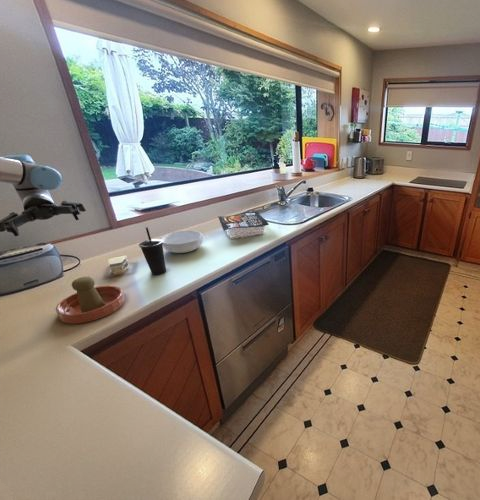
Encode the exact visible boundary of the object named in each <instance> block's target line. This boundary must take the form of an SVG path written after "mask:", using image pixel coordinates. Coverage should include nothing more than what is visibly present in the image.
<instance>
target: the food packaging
mask: <svg viewBox="0 0 480 500" xmlns="http://www.w3.org/2000/svg"><path fill="white" fill-rule="evenodd" d="M217 218H218V221H219V222H220V223H219V224H220V225H221V228H222V230H223V231H224V232H226V234H227V237H229V238H230V240H233V239H234V240H235V239H240V238H247V237H248V238H249V237H255V236H260V235H264V234H265V227H266V226H269V225H270V224H269V222H268V221H267V219H265V218H264V217H263V216H261V214H260V213H259V211H245V212H240V213H236V214H232V215H224V216H219V215H218V216H217Z"/></svg>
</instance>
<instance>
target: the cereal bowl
mask: <svg viewBox="0 0 480 500" xmlns="http://www.w3.org/2000/svg"><path fill="white" fill-rule="evenodd" d="M203 239H204V238H203V234H202V233H201V232H200V231H197V230H179V231H174V232H170V233H167V234H165V235H163V236H162V237H161V239H160V240H162V241H163V243H162V246H163V249H165V250H166V251H168V252H170V253H175V254H185V253H189V252H192V251H195V250H197V249H198V248H200V246H202V244H203V241H204V240H203Z"/></svg>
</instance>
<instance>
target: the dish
mask: <svg viewBox="0 0 480 500" xmlns="http://www.w3.org/2000/svg"><path fill="white" fill-rule="evenodd" d="M94 287H95V289H96V291H97V292H98V294H99V295H100V297H101V298H102V300H103V302H104V303H105V306H103V307H101V308H98V309H95V310H92V311H89V312H84V313H82V312H81V308H80V304H79V299H78V295H77V292H75V293H73V294H70V295H69V296H67V297H65V298H63V299H62V300H61V301H60V302H59V303H57V305H56V307H55V312H56V314H57V316H58V318H59V320H60V321H61V322H63V323H65V324H72V325H74V324H82V323H83V324H85V323H88V322H93V321H96V320H99V319H102V318H104V317H107V316H109V315H110V314H112V313H115V312H116V311H117V310H118V309H120V308H122V306H123V305H124V304H125V300H126V298H125V297H126V296H125V295H124V292H123V290H122V288H121V287H118V286H115V285H101V286H94Z"/></svg>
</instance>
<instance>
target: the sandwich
mask: <svg viewBox="0 0 480 500" xmlns="http://www.w3.org/2000/svg"><path fill="white" fill-rule="evenodd" d="M127 257H128V255H120V256H116V257H115V256H114V257H111V258H109V259H108V260H107V261H108V265H109V268H110V271H111V273H113V275H114V276H115V275H122V274H125V273H126V272H125V271H126V269H127V268H128V267H129V266H130V262H129V258H127Z"/></svg>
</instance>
